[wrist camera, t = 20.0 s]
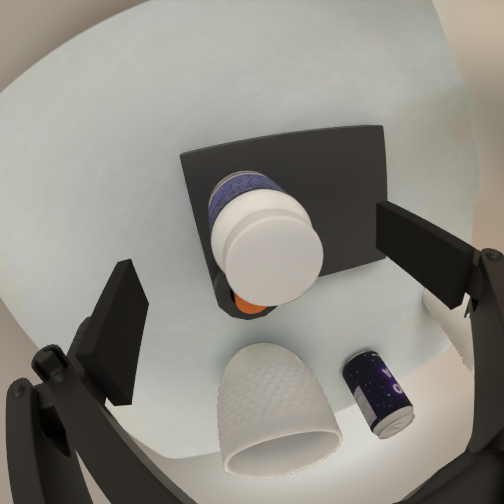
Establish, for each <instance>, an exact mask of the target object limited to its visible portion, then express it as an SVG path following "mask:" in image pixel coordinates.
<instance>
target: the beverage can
mask: <svg viewBox="0 0 504 504" xmlns="http://www.w3.org/2000/svg"><path fill="white" fill-rule="evenodd" d="M343 377H344V379H345V381H346V383H347V385H348V387H349V389H350V391H351V393H352V394H353V396H354V398H355V400H356V402H357V404H358V406H359V408H360V410H361V412H362V413H363V415H364V417H365V419H366V421H367V423H368V425H369V427H370V429H371V431H372V432H373V433H374V434H376V435H377V436H378V437H379V439H386V438H389V437H392V436H394V435H396V434H397V433H399V432H400V431H402V430H404V429H405V428H406V427H407V426H408V425H410V424H411V423H412V421H413V420H414V418H415V415H414V414H413V405H412V404H411V402H410V401H409V399H408V398H407V396H406V395H405V393H404V392H403V390H402V389H401V387H400V386H399V384H398V383H397V381H396V380H395V378H394V377H393V375H392V374H391V372H390V371H389V369H388V368H387V366H386V365H385V363H384V362H383V361H382V359H381V358H380V356H379V355H378V353H376V352H374V351H362V352H359V353H357V354H355V355H353V356H352V357H351V358H350V359H349V360H348V361H347V363H346V365H345V367H344V370H343Z"/></svg>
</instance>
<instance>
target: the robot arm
mask: <svg viewBox="0 0 504 504" xmlns="http://www.w3.org/2000/svg"><path fill="white" fill-rule="evenodd" d="M376 248H377V249H378V250H380V251H381V252H382V253H383V254H385V255H386V256H387V257H389V258H390V259H391V260H392V261H394V262H395V263H396V264H397V265H399V266H400V267H401V268H402V269H403V270H405V271H406V272H407V273H408V274H410V275H411V276H412V277H413V278H414V279H416V280H417V281H418V282H419V283H420V284H422V285H423V286H424V287H425V288H426V289H427V290H429V291H430V292H431V293H432V294H433V295H434V296H436V297H437V298H438V299H439V300H440V301H441V302H442V303H443V304H445V305H446V306H447V307H448V308H449V309H450V310H453V309H455V308H456V307H458V306H460V305H462V302H463V299H464V295H465V293H467V294H468V295H469V296H470V298H469V301H468V304H467V308H466V311H465V314H464V318H466V316H467V314H468V313H469V314H470V316H469V318H470V321H471V330H472V340H473V353H474V375H475V376H474V377H475V399H474V419H473V431H472V435H471V438H470V441H469V443H468V445H467V447H466V449H465V452H464V453H462V454H461V455H459V456H458V457H457V458H455V459H454V460H453V461H451V462H450V463H448V464H447V465H446V466H444V467H442V468H441V469H440V470H438V471H437V472H436V473H435V474H434V475H432V476H431V477H430V478H429V479H427V480H426V481H425V482H424V483H422V484H421V485H420V486H419V487H417V488H416V489H415V490H413V491H412V492H411V493H409V494H408V495H407V496H406V497H405V498H403V499H402V500H401V501H400V502H397V503H393V504H504V255H503V254H502V253H501V252H499V251H497V250H495V249H490V248H485V249H483V250H482V251H479V250H477V249H476V248H474V247H472V246H471V245H469V244H467V243H466V242H464V241H462V240H461V239H459V238H457V237H456V236H454V235H452V234H450V233H449V232H447V231H445V230H443V229H441V228H440V227H438V226H436V225H434V224H432V223H430V222H429V221H427V220H425V219H423V218H421V217H419V216H417V215H415V214H413V213H411V212H409V211H407V210H405V209H403V208H401V207H399V206H397V205H395V204H393V203H391V202H389V201H387V200H386V201H381V202H376ZM148 306H149V302H148V300H147V298H146V295H145V293H144V291H143V288H142V286H141V283H140V281H139V278H138V276H137V273H136V271H135V268H134V266H133V263H132V260H131V259H127V260H123V261H120V262H117V264H116V266H115V268H114V270H113V272H112V274H111V276H110V278H109V280H108V282H107V284H106V286H105V288H104V290H103V292H102V294H101V296H100V298H99V300H98V302H97V304H96V306H95V309H94V311H93V313H92V315H91V317H87V318H86V319H85V320H84V321H83V322H82V323H81V324H80V326H79V328H78V330H77V332H76V335H75V337H74V339H73V342H72V344H71V346H70V348H69V351H68V353H67V356H65V354H64V353H63V351H62V350H61V348H60V347H59V346H58V345H54V344H52V345H47V346H46V347H44V348H42V349H41V350H40V351H38V352H37V353H36V355H35V356H34V357H33V360H32V363H31V365H32V368H33V370H34V371H35V372H36V373H37V375H38V376H39V377H40V379H41V380H42V381H43V382H44V383H41V384H38V385H36V386H33V385H32V384H31V383H30V381H29V380H28V379H27V378H20V379H18V380H16V381H14V382H13V384H11V385H10V387H9V389H8V391H7V397H6V449H7V462H8V471H9V479H10V486H11V492H12V497H13V502H14V504H93V502H92V499H91V496H90V494H89V492H88V489H87V486H86V483H85V480H84V477H83V474H82V471H81V468H80V464H79V461H78V457H77V454H76V451H77V452H78V454H79V456H80V457H81V459H82V461H83V463H84V464H85V466H86V468H87V469H88V471H89V472H90V474H91V475H92V477H93V479H94V480H95V482H96V483H97V484H98V486H99V487H100V489H101V490H102V492H103V493H104V494H105V496H106V497H107V498H108V500H109V501H110V502H111V504H197V503H196V502H195V501H194V500H193V499H191V498H190V497H189V496H188V495H187V494H186V493H185V492H183V491H182V490H181V489H180V488H179V487H178V486H177V485H176V484H174V483H173V482H172V481H171V480H170V479H169V478H168V477H167V476H166V475H165V474H164V473H163V472H162V471H161V470H160V469H159V468H158V467H157V466H156V465H155V464H154V463H153V462H152V461H151V460H150V459H149V458H148V456H147V455H146V454H145V453H144V452H143V451H142V450H141V449H140V448H139V447H138V445H137V444H136V443H135V442H134V441H133V440H132V438H131V437H130V436H129V435H128V434H127V433H126V431H125V430H124V429H123V428H122V426H121V425H120V424H119V423H118V421H117V420H116V419H115V418H114V416H113V415H112V414H111V412H110V411H109V410H108V409H107V407H106V406H105V401H106V397H107V398H108V400H109V401H110V402H111V403H112V404H113V405H114V406H122V405H132V397H133V390H134V383H135V376H136V370H137V363H138V358H139V352H140V346H141V341H142V335H143V330H144V325H145V320H146V316H147V311H148ZM75 449H76V450H75Z"/></svg>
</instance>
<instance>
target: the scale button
mask: <svg viewBox="0 0 504 504" xmlns="http://www.w3.org/2000/svg"><path fill="white" fill-rule="evenodd" d="M233 293H234V298H235V302H236V305H237V307H238V308H239V309H240V310H241V311H242V312H245V313H249V314H254V313H258V312H261V311H262V310H264V309H265V308H266V307H267V306H259V305H254V304H251V303H249V302H247V301H245V300H243V299H242V298H240V297H239V296H238V295H237V294H236V293H235V292H234V291H233Z"/></svg>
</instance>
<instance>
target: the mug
mask: <svg viewBox="0 0 504 504" xmlns="http://www.w3.org/2000/svg"><path fill="white" fill-rule="evenodd" d="M220 382H221V383H220V387H219V394H218V404H217V410H218V411H217V418H218V429H219V440H220V449H221V455H222V462H223V467H224V468H225V470H226V471H227V472H229V473H230V474H232V475H234V476H238V477H244V478H256V479H259V478H260V479H261V478H272V477H279V476H284V475H288V474H292V473H295V472H298V471H301V470H304V469H307V468H309V467H311V466H314V465H316V464H317V463H319V462H321V461H323V460H325V459H326V458H327V457H329V456H330V455H331V454H333V453H334V452H335V451H336V450H337V449H338V448H339V446H340V445H341V443H342V434H341V431H340V429H339V426H338V424H337V422H336V418H335V416H334V414H333V412H332V409H331V407H330V405H329V403H328V401H327V398H326V396H325V395H324V393H323V391H322V388H321V387H320V385H319V383H318V381H317V379H316V378H315V377H314V376H313V374H312V372H311V371H310V370H309V369H308V367H307V366H306V364H304V363H303V362H302V361H301V359H299V357H297V356H296V355H295V354H294V353H292V352H291V351H289V350H287V349H286V348H284V347H282V346H279V345H276V344H272V343H256V344H252V345H249V346H246V347H244V348H243V349H241V350H240V351H238V352H237V353H236V354H235V355H234V356H233V357H232V358H231V360H230V361H229V362H228V364H227V366H226V367H225V370H224V372H223V374H222V379H221V381H220Z"/></svg>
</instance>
